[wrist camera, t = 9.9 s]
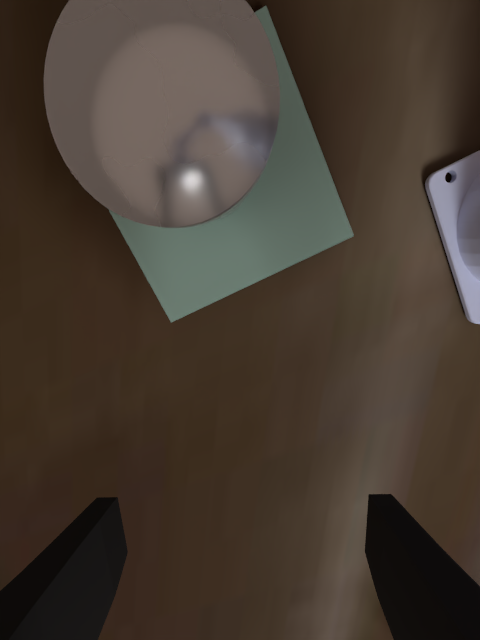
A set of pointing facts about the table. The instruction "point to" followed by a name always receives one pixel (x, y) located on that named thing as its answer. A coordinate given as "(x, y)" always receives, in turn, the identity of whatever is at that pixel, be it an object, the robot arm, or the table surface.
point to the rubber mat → (249, 217)
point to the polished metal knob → (163, 105)
